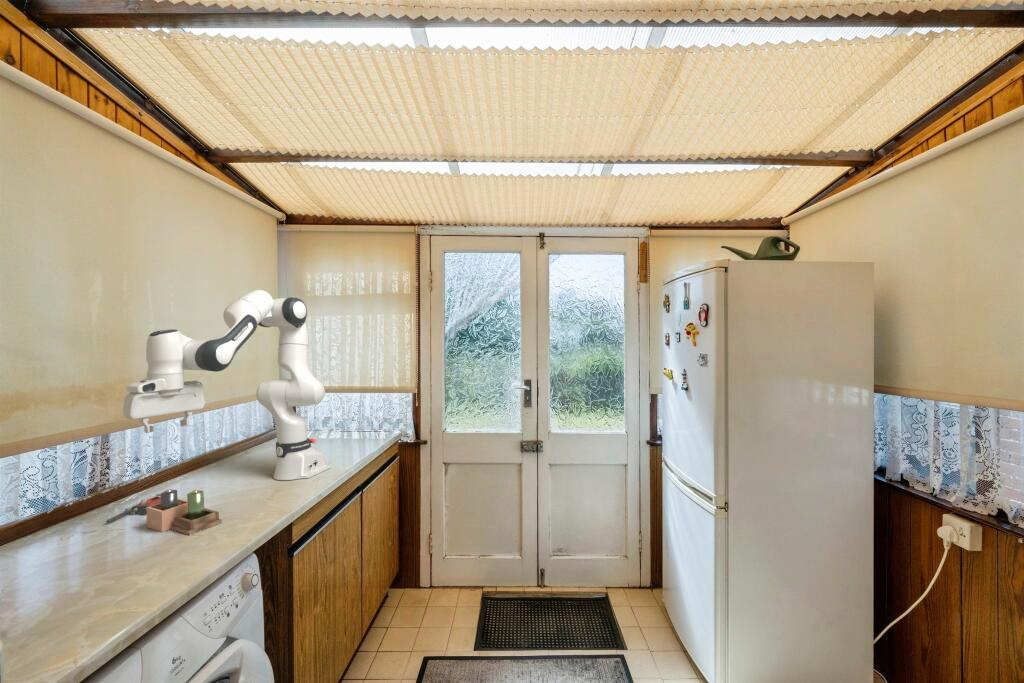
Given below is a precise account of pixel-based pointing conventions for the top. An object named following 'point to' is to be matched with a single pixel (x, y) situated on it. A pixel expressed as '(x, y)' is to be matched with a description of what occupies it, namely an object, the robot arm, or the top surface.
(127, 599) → the top surface
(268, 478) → the top surface
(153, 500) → the walkie-talkie
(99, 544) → the top surface
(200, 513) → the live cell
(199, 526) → the cell holder
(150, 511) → the cup
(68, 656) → the top surface
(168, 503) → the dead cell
